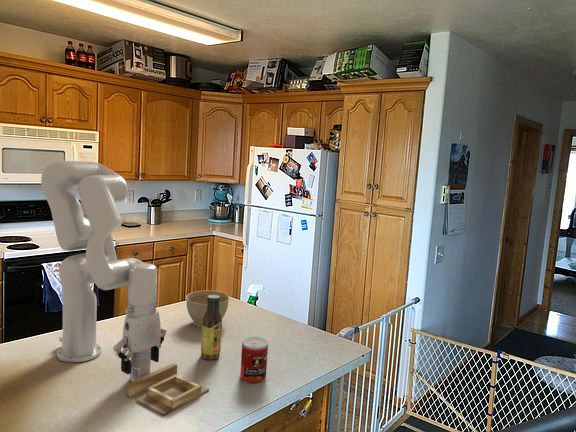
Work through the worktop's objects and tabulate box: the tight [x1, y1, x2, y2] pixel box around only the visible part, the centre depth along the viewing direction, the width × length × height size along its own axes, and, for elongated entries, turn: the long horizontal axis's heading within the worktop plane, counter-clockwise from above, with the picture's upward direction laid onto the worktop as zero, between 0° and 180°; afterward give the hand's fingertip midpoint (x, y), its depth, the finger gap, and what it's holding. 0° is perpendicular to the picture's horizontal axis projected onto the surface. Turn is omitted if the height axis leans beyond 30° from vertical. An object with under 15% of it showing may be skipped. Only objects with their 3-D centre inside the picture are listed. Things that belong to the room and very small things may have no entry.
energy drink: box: [129, 348, 152, 382], centre depth 127 cm, size 5×5×12 cm
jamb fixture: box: [126, 362, 210, 417], centre depth 121 cm, size 14×16×4 cm
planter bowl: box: [185, 290, 230, 329], centre depth 171 cm, size 16×16×11 cm
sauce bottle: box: [200, 295, 223, 361], centre depth 144 cm, size 6×6×20 cm
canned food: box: [240, 336, 269, 385], centre depth 133 cm, size 8×8×11 cm
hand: (140, 366), depth 127 cm, fingers open, 9 cm apart
